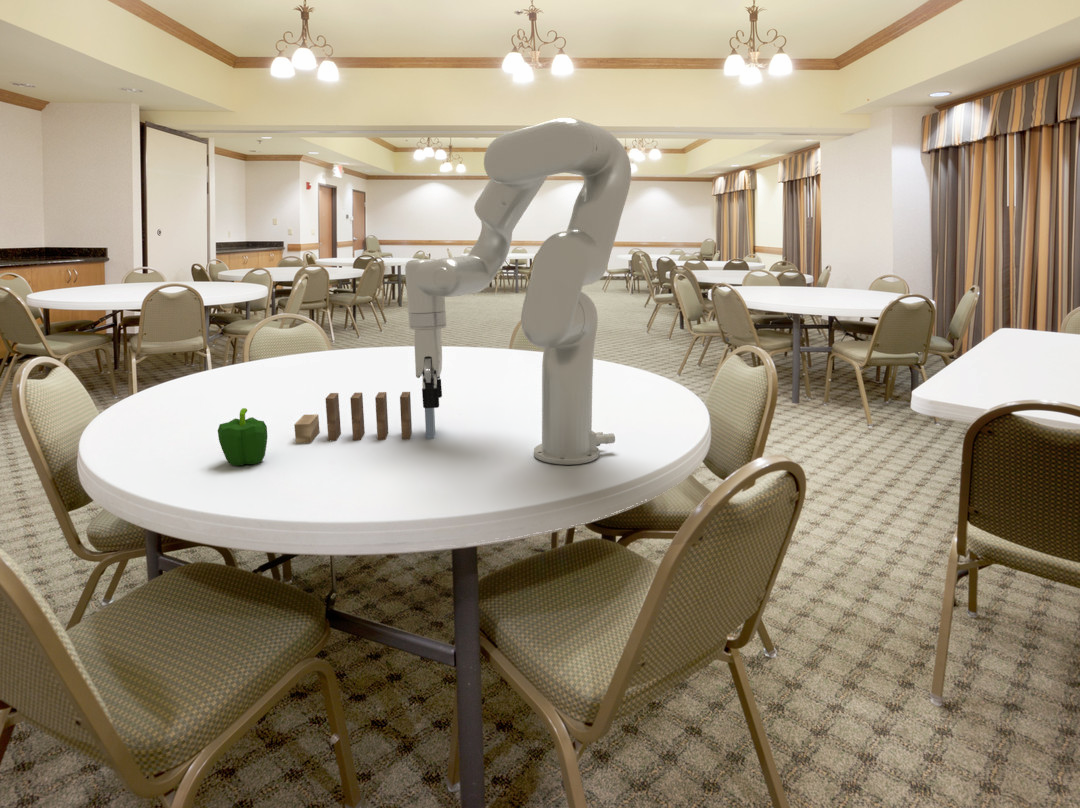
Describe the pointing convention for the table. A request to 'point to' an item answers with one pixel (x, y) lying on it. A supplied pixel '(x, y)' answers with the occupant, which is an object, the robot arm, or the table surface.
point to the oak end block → (307, 428)
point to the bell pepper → (243, 440)
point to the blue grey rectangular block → (430, 423)
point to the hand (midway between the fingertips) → (433, 402)
